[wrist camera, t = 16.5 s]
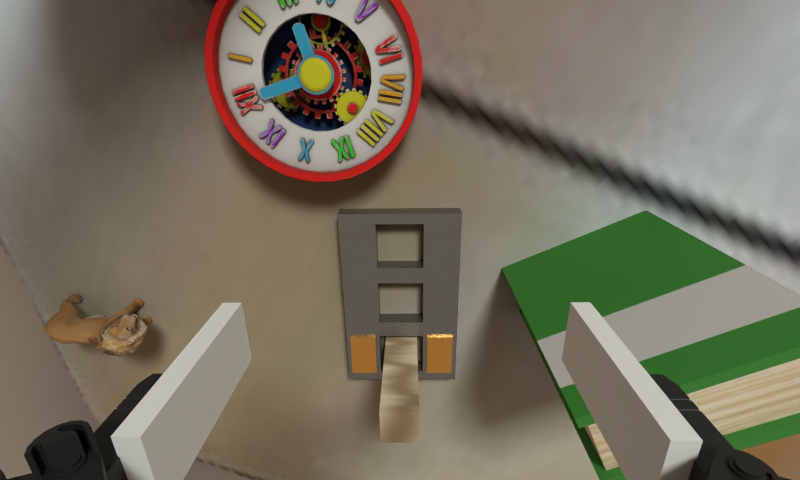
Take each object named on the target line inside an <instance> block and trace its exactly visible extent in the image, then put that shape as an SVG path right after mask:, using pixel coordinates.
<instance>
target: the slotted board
mask: <svg viewBox="0 0 800 480" xmlns="http://www.w3.org/2000/svg"><path fill="white" fill-rule="evenodd" d="M337 217H338V230H339V244H340V257H341V271H342V284H343V298H344V311H345V325H346V338H347V351H348V365H349V378H350V379H382V375H383V365H384V362H382V348H381V336H422V362H418V379H455V363H456V340H457V316H458V293H459V269H460V246H461V222H462V212H461V210H460V208H407V209H340V210H339V212H338V214H337ZM377 224H423V261H378V241H377ZM379 283H423V314H380V295H379Z"/></svg>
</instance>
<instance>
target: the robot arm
mask: <svg viewBox="0 0 800 480" xmlns="http://www.w3.org/2000/svg"><path fill="white" fill-rule="evenodd" d="M251 360H252V358H251V352H250V347H249V341H248V335H247V330H246V324H245V319H244V313H243V307H242V303H222V305H221V306H220V307H219V308H218V309H217V310H216V312H215V313H214V314H213V315H212V316H211V318H210V319H209V320H208V321H207V322H206V324H205V325H204V326H203V327H202V328H201V330H200V331H199V332H198V333H197V334H196V335H195V337H194V338H193V339H192V340H191V341H190V343H189V344H188V345H187V346H186V347H185V349H184V350H183V351H182V352H181V353H180V355H179V356H178V357H177V358H176V359H175V360H174V362H173V363H172V364H171V365H170V366H169V368H168V369H167V370H166V371H165V372H164V374H152V375H150V376H149V377H147V378H146V379H145V380H143V381H142V382H140V383H139V384H137V385H136V387H135V388H134V389H133V390H132V391H131V392H130V393H129V394H128V395H127V397H126V399H124V400H123V401H122V402H121V403H120V404H119V405H118V408H117V409H115V410H114V411H113V412H112V413H111V414H110V416H109V417H108V418H107V419H106V420H105V421H104V422H103V423H102V424H101V426H100V427H99V428H98V429H97V430H96V431H95V432H94V433H93V431H92V428H91V426H90V425H89V423H88V422H85V421H81V420H80V421H70V422H66V423H63V424H59V425H57V426H55V427H53V428H51V429H49V430H47V431H45V432H44V433H42V434H41V435H40V436H38V437H37V438H35V439H34V440H33V442H32V443H31V444H30V445H29V446H28V447H27V449H26V452H25V454H24V456H25V458H26V460H27V463H28V465H29V467H30V469H31V471H32V473H31V474H27V475H23V476H19V477H14V478H10V479H6V477H5V475H4V473H3V472H2V471H1V469H0V480H184V478H185V476H186V474H187V473H188V471H189V469H190V467H191V465H192V464H193V462H194V460H195V458H196V457H197V455H198V453H199V451H200V450H201V448H202V446H203V444H204V443H205V441H206V439H207V437H208V435H209V434H210V432H211V430H212V428H213V427H214V425H215V423H216V421H217V420H218V418H219V416H220V414H221V413H222V411H223V409H224V407H225V406H226V404H227V402H228V400H229V398H230V397H231V395H232V393H233V391H234V390H235V388H236V386H237V384H238V383H239V381H240V379H241V377H242V376H243V374H244V372H245V370H246V368H247V367H248V365H249V363H250V361H251ZM562 362H563V363H564V365H565V367H566V369H567V371H568V373H569V374H570V376H571V378H572V380H573V382H574V384H575V386H576V387H577V389H578V391H579V393H580V395H581V397H582V398H583V400H584V402H585V404H586V406H587V408H588V409H589V411H590V413H591V415H592V417H593V419H594V421H595V422H596V424H597V426H598V428H599V430H600V432H601V433H602V435H603V437H604V439H605V441H606V443H607V444H608V446H609V448H610V450H611V452H612V454H613V456H614V457H615V459H616V461H617V463H618V465H619V467H620V468H621V470H622V472H623V474H624V476H625V478H626V479H627V480H790V479H786V478H782V477H779V476H777V474H776V473H775V472H774V470H773V469H772V468H770V467H769V466H768V465H767V464H765V463H764V462H763V461H762V460H760V459H758V458H756V457H754V456H753V455H750V454H749V453H746V452H743V451H740V450H737V449H734V448H733V447H732V446H731V444H730V443H729V442H728V441H727V440H726V439H725V438H724V436H723V435H722V434H721V433H720V432H719V431H718V430H717V429H716V427H715V426H714V425H713V424H712V423H711V422H710V421H709V419H708V418H707V417H706V416H705V415H704V414H703V413H702V411H699V408H698V407H697V406H696V405H695V404H694V402H693V401H690V398H689V397H688V396H687V394H686V393H685V392H684V391H683V390H682V389H681V388H680V387H679V385H677V384H676V383H674V382H673V381H671V380H670V379H668V378H667V377H666V376H664V375H663V374H648V373H647V371H646V370H645V369H644V368H643V367H642V365H641V364H640V363H639V362H638V360H637V359H636V358H635V357H634V355H633V354H632V353H631V352H630V351H629V349H628V348H627V347H626V346H625V344H624V343H623V342H622V341H621V339H620V338H619V337H618V336H617V335H616V333H615V332H614V331H613V330H612V328H611V327H610V326H609V325H608V324H607V322H606V321H605V320H604V319H603V317H602V316H601V315H600V314H599V312H598V311H597V310H596V309H595V308H594V306H593V305H592V304H591V303H590V302H571V303H570V309H569V316H568V322H567V328H566V335H565V341H564V347H563V354H562Z"/></svg>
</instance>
